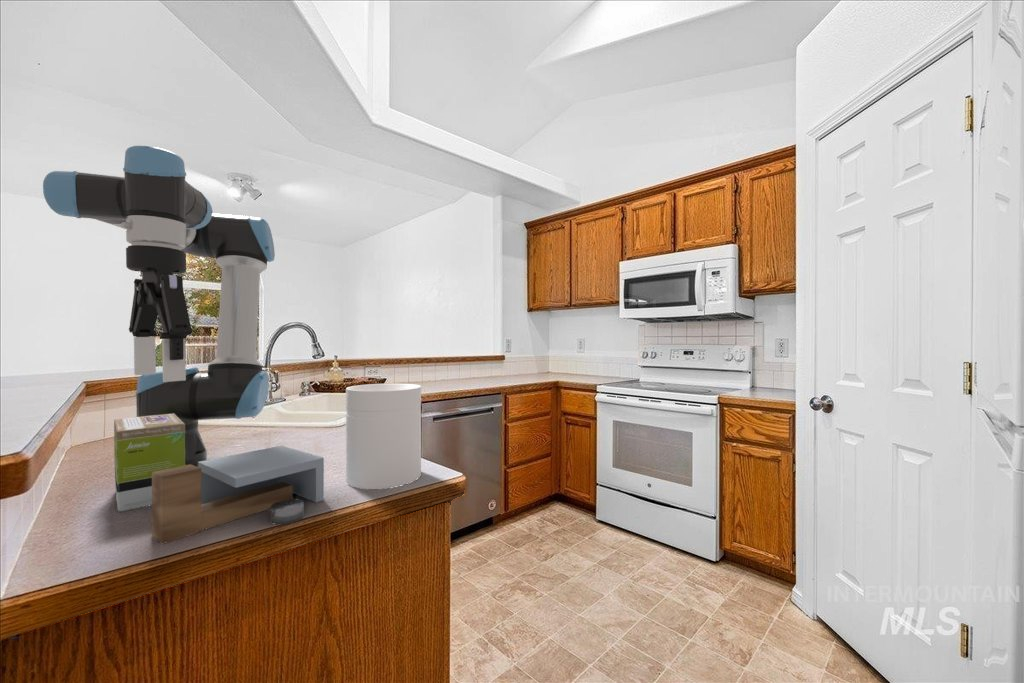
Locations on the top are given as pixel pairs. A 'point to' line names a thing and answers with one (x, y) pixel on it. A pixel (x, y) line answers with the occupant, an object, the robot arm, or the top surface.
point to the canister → (383, 435)
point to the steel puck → (287, 511)
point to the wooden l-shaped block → (186, 515)
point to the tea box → (145, 455)
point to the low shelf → (262, 473)
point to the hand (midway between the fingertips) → (159, 377)
